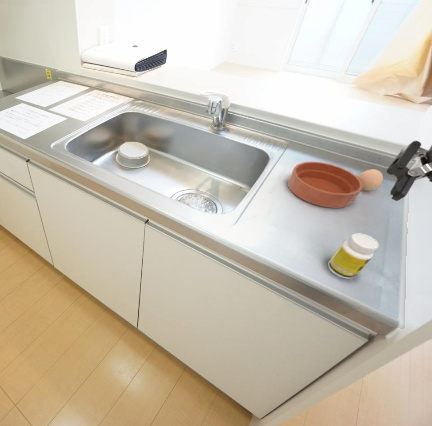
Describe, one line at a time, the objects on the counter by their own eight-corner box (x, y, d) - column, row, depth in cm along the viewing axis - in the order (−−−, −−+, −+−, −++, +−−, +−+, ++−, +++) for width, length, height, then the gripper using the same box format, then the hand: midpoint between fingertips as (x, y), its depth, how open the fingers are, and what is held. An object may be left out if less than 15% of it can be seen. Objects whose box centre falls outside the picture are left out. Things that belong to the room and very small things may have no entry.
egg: (373, 186, 76) (387, 168, 72) (376, 196, 72) (390, 177, 69) (351, 181, 78) (363, 163, 74) (352, 191, 74) (365, 172, 70)
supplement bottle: (354, 283, 53) (380, 254, 48) (325, 271, 55) (347, 242, 50) (356, 267, 56) (382, 238, 50) (329, 256, 58) (350, 227, 53)
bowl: (360, 190, 75) (369, 176, 72) (342, 217, 67) (352, 203, 64) (299, 169, 83) (306, 156, 80) (277, 191, 75) (284, 177, 72)
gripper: (440, 103, 45) (395, 178, 42) (559, 142, 40) (516, 231, 37) (404, 132, 52) (363, 198, 49) (501, 169, 47) (462, 245, 44)
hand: (429, 212), depth 43 cm, fingers open, 8 cm apart
